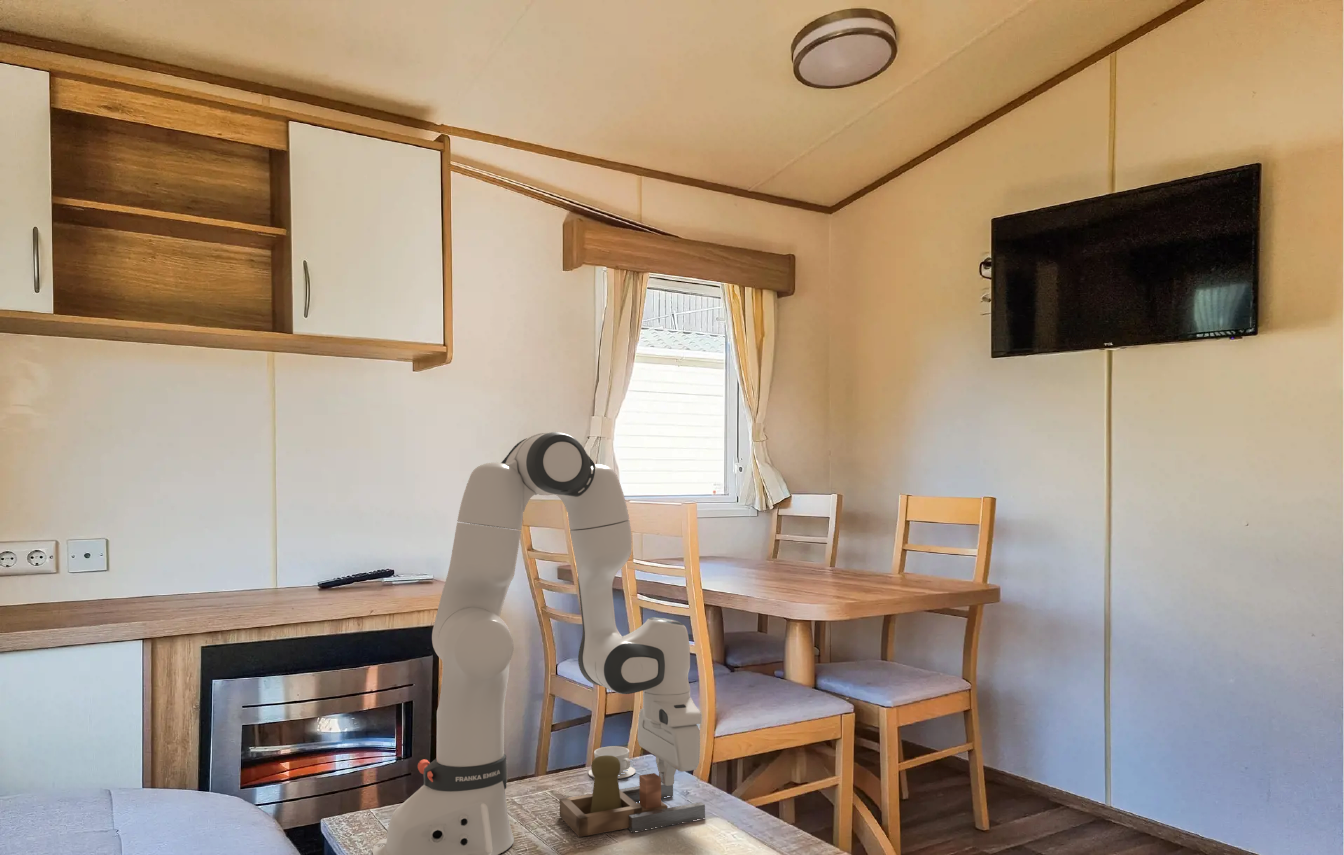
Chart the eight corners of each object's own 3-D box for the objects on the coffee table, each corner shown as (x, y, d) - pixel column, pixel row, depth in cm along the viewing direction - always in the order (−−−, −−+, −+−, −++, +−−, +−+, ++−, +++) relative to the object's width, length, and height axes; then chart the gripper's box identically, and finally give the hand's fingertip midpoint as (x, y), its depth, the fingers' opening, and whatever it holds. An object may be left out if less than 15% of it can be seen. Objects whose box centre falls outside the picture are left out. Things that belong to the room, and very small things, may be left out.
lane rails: (632, 833, 147) (632, 817, 147) (601, 806, 161) (601, 792, 161) (705, 819, 153) (704, 804, 153) (669, 794, 167) (669, 781, 167)
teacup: (578, 775, 180) (578, 752, 181) (612, 764, 188) (611, 742, 188) (612, 785, 174) (611, 761, 174) (645, 772, 181) (645, 750, 181)
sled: (579, 837, 145) (578, 799, 146) (559, 816, 155) (559, 780, 156) (675, 819, 153) (675, 783, 153) (651, 800, 163) (650, 766, 163)
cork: (626, 815, 156) (625, 752, 157) (619, 827, 150) (618, 762, 151) (593, 814, 157) (593, 751, 158) (585, 826, 151) (585, 761, 152)
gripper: (629, 697, 168) (629, 770, 167) (673, 719, 149) (673, 802, 148) (659, 694, 171) (659, 766, 169) (706, 716, 152) (706, 797, 151)
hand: (666, 783), depth 159 cm, fingers closed
